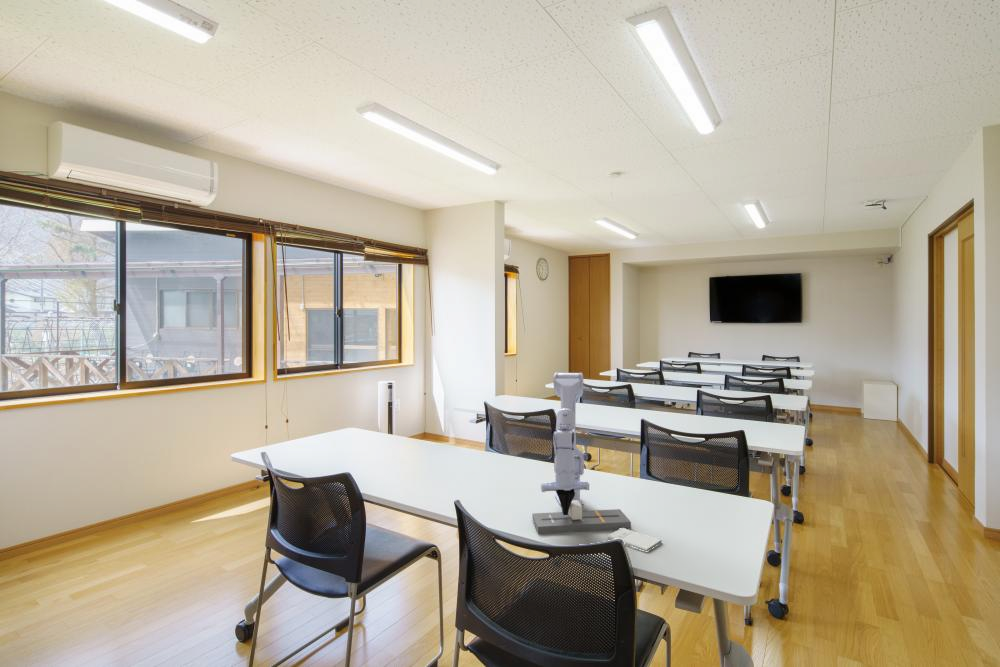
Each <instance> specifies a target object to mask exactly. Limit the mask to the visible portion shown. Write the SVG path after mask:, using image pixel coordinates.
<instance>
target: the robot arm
mask: <svg viewBox="0 0 1000 667" xmlns="http://www.w3.org/2000/svg"><path fill="white" fill-rule="evenodd" d="M553 389H554V393H555V396H556V397H558V398H560V410H558V411H557V413H556V423H555V424H556V425H555V431H554V432H553V437H552V438H553V439H552V440H553V441H552V442H553V448H554V449H553V450H554V452H553V453H554V463H553V464H554V465H553V466H554V468H553V469H554V473H555V476H554V477H555V481H552V482H546V483H540V491H541V492H542V493H546V492H555V495H554V497H555V498H556V501H557V502H558V504H559V506H560V507H561V512H562V513H563V515H568V512H569V508H570V504H571V502H572V500H578V501H579V503H580V504H581V505H582V506H583V505H584V504H585V503H584V502H583V500H582V499H581V490H583V491H584V490H585V491H590V482H588V481H581V476H583V475H584V474H585V461H584V460H585V458H584V453H583V451H582V450H581V449H580V448H579V447H578V446H576V445H577V444H576V443H577V437H576V435H577V434H576V415H577V414H576V406H577V405H576V403H577V401H578V399H580V398H581V397H583V394H584V374H583V372H555V373H554V374H553Z"/></svg>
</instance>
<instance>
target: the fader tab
mask: <svg viewBox="0 0 1000 667" xmlns="http://www.w3.org/2000/svg"><path fill="white" fill-rule="evenodd" d="M582 511H583V505H581V504H580V503H579V501H578V500H572V502H571V504H570V508H569V512H568V513H569V515H570V517H571V519H572V520H577V519H582Z"/></svg>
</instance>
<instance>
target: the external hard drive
mask: <svg viewBox="0 0 1000 667" xmlns="http://www.w3.org/2000/svg"><path fill="white" fill-rule="evenodd" d="M614 538H620V539H623V540H624V542H625V545H624V546H627V545H628V546H627V547H629V546H633V547H636V548H638V549H641V550H644V551H648V550H650V549H652V548H653V547H655V546H656V545H658V544H660V543H661V542H662V543H663V541H662V539H659V538H656V537H653V536H651V535H648V534H647V535H646V534H645V533H640V532H637V531H634V530H631V529H625V528H621V529H616V530H615V531H613V532H612V533H610V534H608V535H607V539H606V540H610V539H614ZM610 541H611V540H610ZM660 545H661V544H660ZM658 546H659V545H658ZM655 548H656V547H655ZM652 550H653V549H652Z"/></svg>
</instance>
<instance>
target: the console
mask: <svg viewBox="0 0 1000 667" xmlns="http://www.w3.org/2000/svg"><path fill="white" fill-rule="evenodd" d="M532 519H533V520H532ZM532 519H531V520H532V522H533V521H534V522H533V525H534V524H535V525H534V527H535V529H537V530H536V532H538V533H537V534H549V533H548V532H556V533H569V532H568V531H574V532H590V531H591V530H592V531H607V530H606V529H612V530H619V528H631V527H632V522H631V520H630V519H629V518H628V517H627V516H626V515H625V512H623V511H622V510H621V509H620V508H617V509H598V510H597V509H596V510H594V509H593V510H582V519H577V520H572V519H571V517H570V515H569V513H568V515H563V513H562V511H560V512H559V511H556V512H538V513H537V512H535V513H532ZM631 529H632V528H631ZM546 532H547V533H546Z"/></svg>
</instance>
